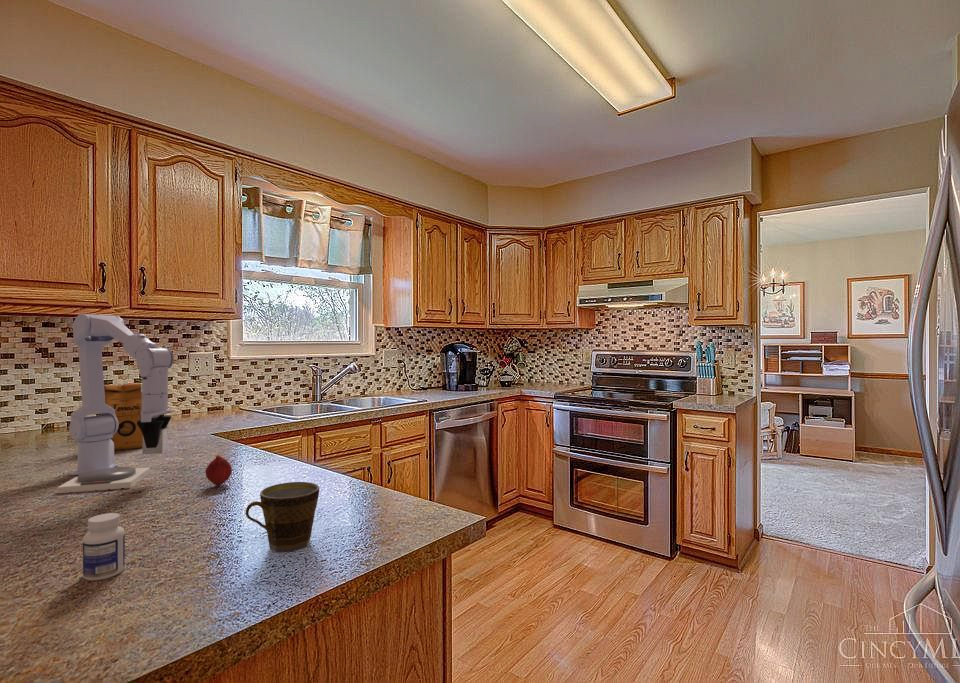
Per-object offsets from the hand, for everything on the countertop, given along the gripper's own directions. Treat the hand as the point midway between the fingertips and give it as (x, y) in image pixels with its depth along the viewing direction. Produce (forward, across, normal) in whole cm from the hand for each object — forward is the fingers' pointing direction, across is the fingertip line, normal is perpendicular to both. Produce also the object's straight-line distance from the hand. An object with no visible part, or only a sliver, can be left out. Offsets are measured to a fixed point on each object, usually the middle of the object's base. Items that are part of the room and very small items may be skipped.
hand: (154, 445), depth 128 cm
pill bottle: (+9, -56, -9) cm, 58 cm away
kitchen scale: (+9, +3, +11) cm, 15 cm away
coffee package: (+10, +49, +22) cm, 54 cm away
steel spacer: (+2, 0, 0) cm, 2 cm away
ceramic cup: (+9, -54, -35) cm, 65 cm away
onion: (+10, -10, -17) cm, 21 cm away
